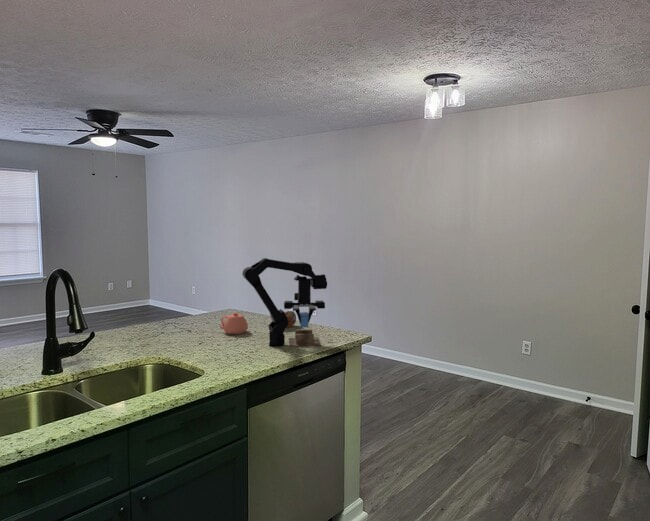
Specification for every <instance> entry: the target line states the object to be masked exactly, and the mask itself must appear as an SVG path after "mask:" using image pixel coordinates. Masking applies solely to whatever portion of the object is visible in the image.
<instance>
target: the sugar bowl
mask: <svg viewBox="0 0 650 521" xmlns="http://www.w3.org/2000/svg"><path fill="white" fill-rule="evenodd" d="M225 318H226V319H225ZM224 319H225V320H224ZM220 320H221V325H220V326H219V328H220V329H221V330H223V331H224V332H225V333H226V334H228V333H230V334H229V335H232V334H233V335H234V334H235V335H240V334H239V333H241V334H244V333H246V331H247V330H248V329H249V326H248V325H249V324H248V322H247V320H246V318H245V316H244V315H243V314H239V313H238V312H232V314H229V315H228V316H226V315H224V316H223V317H221V318H220Z"/></svg>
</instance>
